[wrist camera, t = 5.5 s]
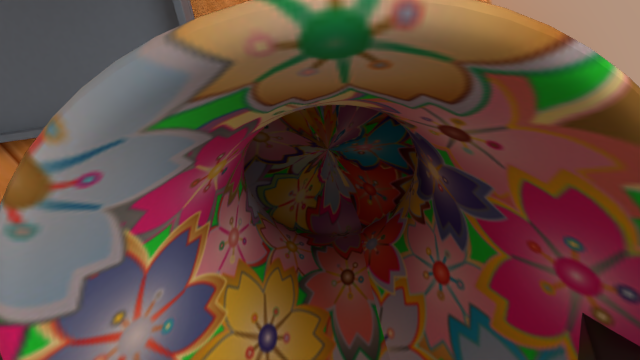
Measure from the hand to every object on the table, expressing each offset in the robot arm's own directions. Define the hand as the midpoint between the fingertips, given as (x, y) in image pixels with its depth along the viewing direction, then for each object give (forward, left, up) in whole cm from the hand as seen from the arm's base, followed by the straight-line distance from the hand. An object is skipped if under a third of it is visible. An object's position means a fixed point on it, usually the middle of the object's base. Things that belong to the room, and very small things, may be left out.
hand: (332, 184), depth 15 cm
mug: (0, 0, -1) cm, 1 cm away
